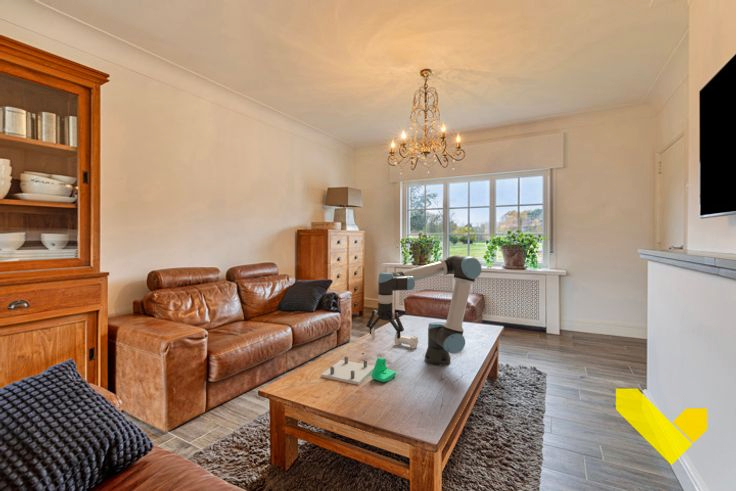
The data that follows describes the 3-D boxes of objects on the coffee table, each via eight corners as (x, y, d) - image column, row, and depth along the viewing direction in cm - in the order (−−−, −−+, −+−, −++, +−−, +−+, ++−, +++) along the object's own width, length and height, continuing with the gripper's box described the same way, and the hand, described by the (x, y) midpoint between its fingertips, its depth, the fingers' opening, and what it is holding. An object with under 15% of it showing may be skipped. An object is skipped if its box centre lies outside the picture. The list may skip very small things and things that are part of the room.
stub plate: (375, 368, 190) (375, 360, 190) (358, 384, 170) (359, 375, 170) (340, 362, 199) (341, 353, 199) (321, 376, 179) (321, 367, 179)
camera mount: (383, 384, 172) (383, 364, 171) (371, 380, 176) (371, 360, 176) (396, 376, 181) (396, 357, 181) (384, 372, 186) (385, 354, 185)
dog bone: (418, 347, 228) (419, 335, 228) (412, 350, 221) (413, 337, 221) (398, 343, 236) (399, 331, 236) (392, 345, 229) (393, 333, 229)
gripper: (410, 303, 175) (409, 343, 176) (366, 298, 186) (366, 337, 187) (405, 306, 169) (405, 348, 170) (360, 301, 179) (360, 341, 180)
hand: (384, 342), depth 178 cm, fingers open, 13 cm apart
